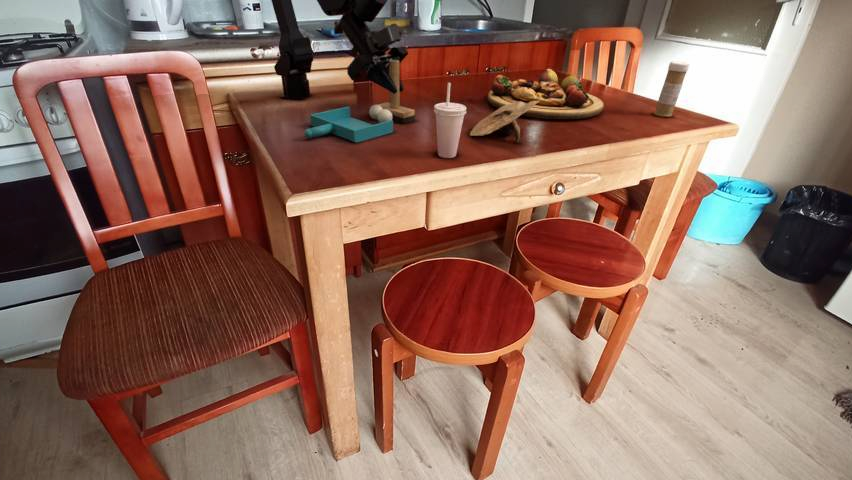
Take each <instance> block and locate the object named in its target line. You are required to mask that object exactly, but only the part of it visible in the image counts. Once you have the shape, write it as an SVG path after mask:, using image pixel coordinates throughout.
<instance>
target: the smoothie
mask: <svg viewBox="0 0 852 480" xmlns="http://www.w3.org/2000/svg"><path fill="white" fill-rule="evenodd" d="M451 85H452V84H451V82H447V85H446V86H447V88H446V89H447V90H446V102H440V103H439V102H438V103H436V104H434V106H433V112H434V113H435V128H436V144H437V155H438V156H439V157H440V158H443V159H453V158H455V157H456V156H457V153H458V147H459V143H460V139H461V134H462V128H463V123H464V118H465V115H466V114H467V106H466V105H464V104H461V103H457V102H450V98H451Z"/></svg>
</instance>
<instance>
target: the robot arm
mask: <svg viewBox="0 0 852 480" xmlns="http://www.w3.org/2000/svg"><path fill="white" fill-rule="evenodd" d="M292 1H293V0H271V4H272V6H273V11H274V14H275V18H276V22H277V25H278V30H279V32H280V38H279V43H278V52H279V58H278V59H277V61H276V62H275V64H274V66H273V69H274V71H275V74H276V76H279V77H281V82H282V83H281V85H282V93H283V94H282V95H281V96H280V98H281V99H287V100H299V101H302V100H305V99H307V98H309V97H310V96H312V93H311V89H310V80H309V79H308V76H307V75H308V74H309V73H311V72H312V65H313V62H314V53H315V52H314V50H313V47H312V42H311V39H310V37H309V36H304V35H303V33H302V32H301V31H300V28H299V23H298V21H297V15H296V11H295V9H294V4H293V2H292ZM316 1H317V4H318V5H319V7H320V9H321V10H322V12H323V13H324V15H326V16H327V17H338V16H340V19H339V20H335V21H334V28H333V33H334V35H340V34H344V35H345V37H346V39H347V40H348V42H349V43H350V44H351V46H352V48H351V49H350V51H351V53H353V54H356V55H355V57H353V59H352V61H351V62H350V63H349V65H348V66H347V67H346V72H347V76H348V77H349V79H351V81H355V80H359V79H360V78H361V71H364V70H365V73H366V76H364V80H366V81H367V80H368V81H370V82H371V83H374V84H376V85H377V86H380V87H381V88H383V89H385V90H386V91H389V93H390V92H392V93H394V94H396V93H397V92H398V90H397V88H396V86H395V84H394V83H393V81H392V79H391V78H390V76H389V60H399V65H400V64H401V63H402V62H403V61H404V60H405V58H406V57H407V56H408V55H409V51H408V49H407V48H406V47H405V45H396V46H392V47H390V45H393V44H394V43H397V42H401V41H402V35H403V30H402V29H401V28H400V25H397V23H396V22H395V23H391V24H390V25H387V26H386V27H384V28H382V29H381V30H379V31H378V30H372V29H371V28H370V26H369V24H368V23H372V22H374V21H375V19H376V18H377V16H379V14H380V12H381V11H382V9H383V8H384V7H385V5H387V3H388V0H316ZM386 52H387V53H386ZM399 84H400V93H401V92H403V91H404V85H403V82H402V78H401V75H400V74H399Z"/></svg>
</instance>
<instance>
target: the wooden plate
mask: <svg viewBox="0 0 852 480" xmlns="http://www.w3.org/2000/svg"><path fill="white" fill-rule="evenodd" d="M486 97H487V101H488V103H489V104H490V105H491V106H493V107H494V108H497V110H498V109H499V108H501V107H502V106H504V105H507V104H510V103H516V102H519V101H522V102H524V103H525V104H527V103H529V102H531V101H539V102H538V103H536V104H535V105H534V106H533V108H531V109H530V110H528V111H526V112H525V113H523V114H522V115H521V116H523V117H531V118H537V119H546V120H580V119H587V118H591V117H594V116H598V115H600V113H602V112H603V110H604V107H605V104H604V102H603V101H602V100H601V98H599V97H596V96H594V95H593V94H590V93H588V92H587V91H586V89H585V88H583V83H582V80H581V79H580V78H579V77H578V76H577V75H576V74H575V73H573V74H570V75H569V76H567V77H565V78H563V79H562V81H561V83H560V85H559V78H558V75H557V73H556V72H555V71H554V70H552V69H551V68H547V69H545V70H544V71H543V72H542V73H541V74H540V75H539V78H538V81H536V80H528V81H527V80H526V79H521V78H520V79H519V78H518V79H515V80H513V81H511V80H510V78H508V77H507V76H505V75H502V74H498V75H496V76H495V77H494V78H493V81H492V84H491V90H490V91H489V92H488V94H487V96H486Z"/></svg>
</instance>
